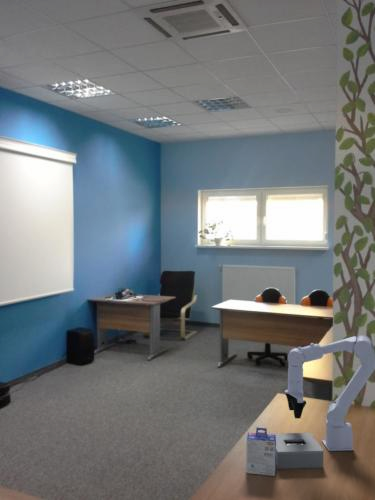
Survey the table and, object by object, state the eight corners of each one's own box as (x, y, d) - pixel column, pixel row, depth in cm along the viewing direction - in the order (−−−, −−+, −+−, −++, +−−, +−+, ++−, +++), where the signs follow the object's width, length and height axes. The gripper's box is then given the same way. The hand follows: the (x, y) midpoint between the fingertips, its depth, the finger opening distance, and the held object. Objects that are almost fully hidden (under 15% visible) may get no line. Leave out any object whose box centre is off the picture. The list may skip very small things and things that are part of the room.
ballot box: (310, 448, 177) (310, 432, 176) (323, 467, 163) (323, 450, 163) (268, 449, 176) (268, 433, 176) (277, 468, 162) (277, 452, 162)
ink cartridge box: (276, 468, 162) (276, 427, 162) (275, 476, 157) (276, 434, 156) (247, 465, 164) (247, 425, 164) (246, 473, 159) (246, 432, 158)
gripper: (280, 373, 189) (280, 406, 190) (290, 386, 175) (289, 422, 176) (297, 373, 190) (297, 406, 190) (308, 386, 175) (308, 421, 176)
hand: (294, 413), depth 183 cm, fingers open, 7 cm apart
